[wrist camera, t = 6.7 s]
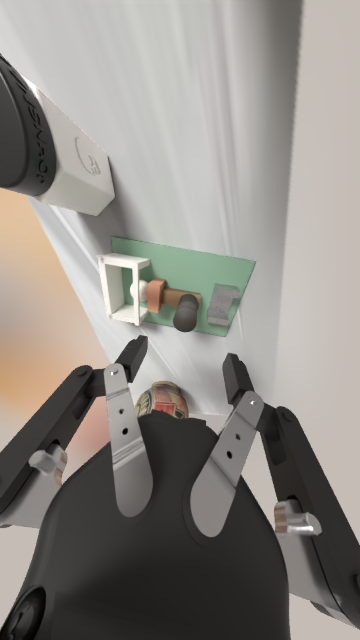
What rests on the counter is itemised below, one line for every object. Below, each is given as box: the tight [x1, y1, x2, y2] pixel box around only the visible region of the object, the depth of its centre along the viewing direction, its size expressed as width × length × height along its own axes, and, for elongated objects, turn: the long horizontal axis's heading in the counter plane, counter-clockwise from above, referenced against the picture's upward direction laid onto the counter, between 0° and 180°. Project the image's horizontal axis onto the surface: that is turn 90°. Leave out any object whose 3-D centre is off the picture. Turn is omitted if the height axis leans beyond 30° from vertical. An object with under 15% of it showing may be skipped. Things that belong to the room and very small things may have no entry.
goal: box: [97, 253, 150, 326], centre depth 25 cm, size 11×6×6 cm, turn 172°
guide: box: [206, 283, 241, 326], centre depth 25 cm, size 7×4×3 cm, turn 172°
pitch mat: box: [111, 237, 256, 337], centre depth 27 cm, size 16×25×1 cm, turn 82°
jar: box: [0, 54, 115, 216], centre depth 15 cm, size 9×8×12 cm
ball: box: [130, 280, 148, 302], centre depth 25 cm, size 4×4×4 cm
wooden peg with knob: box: [147, 278, 201, 332], centre depth 22 cm, size 5×9×10 cm, turn 82°
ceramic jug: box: [135, 381, 188, 419], centre depth 31 cm, size 17×15×30 cm
